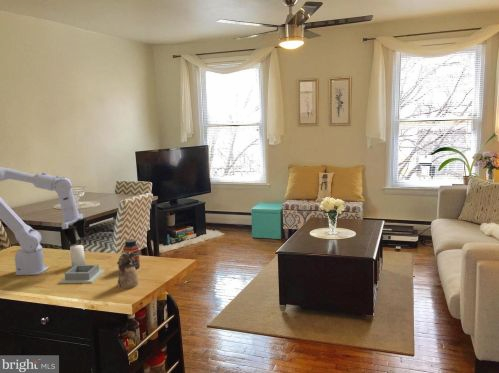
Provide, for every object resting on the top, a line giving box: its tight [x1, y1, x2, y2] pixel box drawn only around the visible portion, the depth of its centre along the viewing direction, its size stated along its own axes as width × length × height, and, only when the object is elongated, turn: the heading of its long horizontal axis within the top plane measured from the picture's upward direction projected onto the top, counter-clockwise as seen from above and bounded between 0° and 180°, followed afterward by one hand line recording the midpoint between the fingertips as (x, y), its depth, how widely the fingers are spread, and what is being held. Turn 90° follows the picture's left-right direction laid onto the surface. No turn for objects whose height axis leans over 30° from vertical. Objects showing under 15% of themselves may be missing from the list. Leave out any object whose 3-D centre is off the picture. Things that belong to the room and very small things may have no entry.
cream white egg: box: [69, 244, 86, 268], centre depth 173 cm, size 5×5×8 cm
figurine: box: [116, 252, 139, 290], centre depth 152 cm, size 7×7×12 cm
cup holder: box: [58, 264, 105, 284], centre depth 161 cm, size 12×12×3 cm
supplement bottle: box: [122, 238, 141, 270], centre depth 169 cm, size 6×6×11 cm
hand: (78, 240), depth 172 cm, fingers open, 7 cm apart
